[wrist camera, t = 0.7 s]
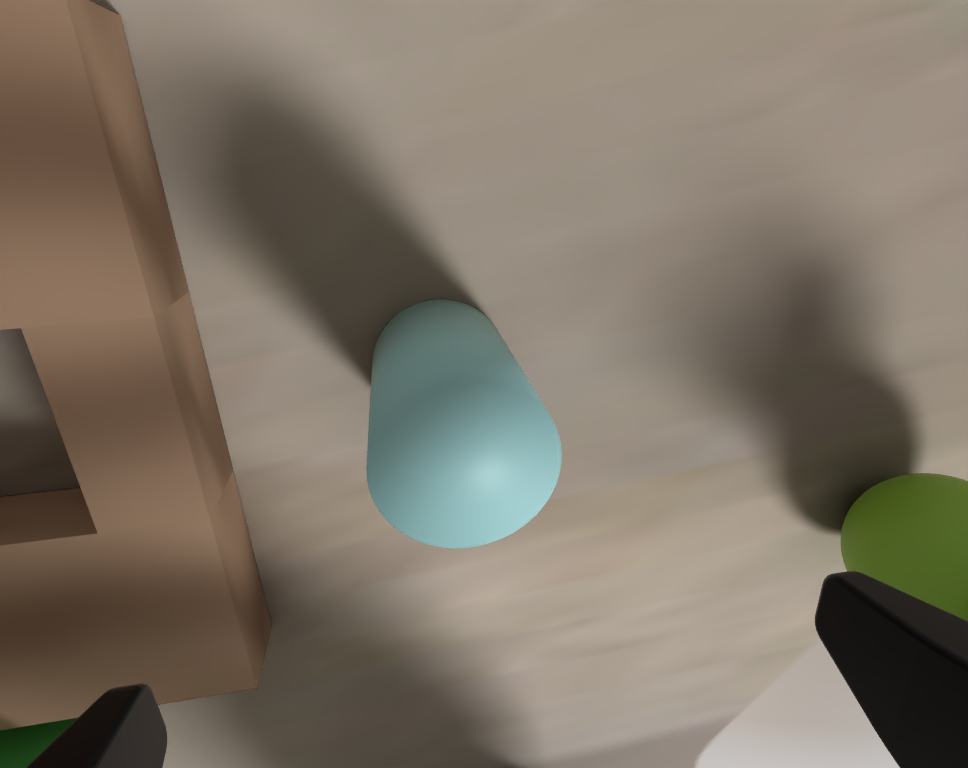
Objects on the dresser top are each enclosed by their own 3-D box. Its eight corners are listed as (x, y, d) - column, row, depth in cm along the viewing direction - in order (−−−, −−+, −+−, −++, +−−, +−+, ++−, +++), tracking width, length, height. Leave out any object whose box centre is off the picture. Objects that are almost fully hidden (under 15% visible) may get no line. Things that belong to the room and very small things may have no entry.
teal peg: (507, 417, 18) (560, 534, 13) (380, 431, 18) (378, 560, 12) (503, 293, 17) (563, 367, 11) (364, 305, 16) (353, 388, 11)
